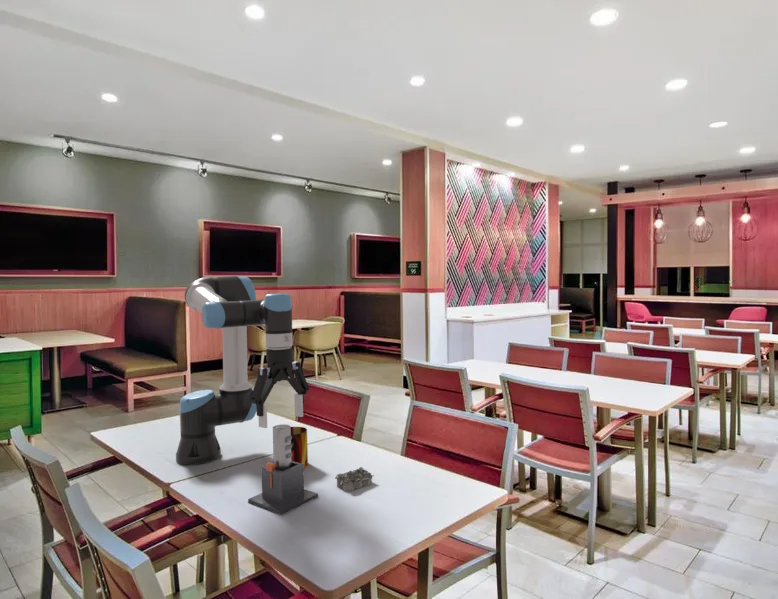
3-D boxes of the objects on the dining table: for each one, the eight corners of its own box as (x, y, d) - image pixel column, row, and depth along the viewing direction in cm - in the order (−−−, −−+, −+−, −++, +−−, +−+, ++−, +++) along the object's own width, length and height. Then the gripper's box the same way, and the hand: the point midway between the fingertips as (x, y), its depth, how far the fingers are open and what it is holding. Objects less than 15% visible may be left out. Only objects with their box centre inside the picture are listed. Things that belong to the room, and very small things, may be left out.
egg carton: (345, 493, 156) (345, 480, 155) (333, 485, 162) (332, 472, 161) (375, 484, 162) (375, 471, 162) (362, 477, 168) (362, 464, 168)
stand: (248, 502, 150) (247, 461, 149) (285, 486, 161) (284, 447, 161) (281, 515, 142) (280, 471, 141) (318, 496, 153) (317, 456, 152)
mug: (292, 476, 169) (291, 440, 168) (274, 464, 180) (273, 430, 179) (318, 469, 174) (317, 434, 174) (300, 458, 186) (299, 424, 185)
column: (269, 496, 151) (267, 427, 150) (284, 489, 155) (282, 423, 154) (283, 501, 147) (281, 431, 146) (298, 494, 152) (296, 426, 151)
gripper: (252, 354, 137) (255, 434, 138) (319, 343, 157) (321, 413, 158) (234, 352, 141) (237, 430, 142) (302, 342, 162) (303, 410, 162)
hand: (281, 421), depth 150 cm, fingers open, 13 cm apart
